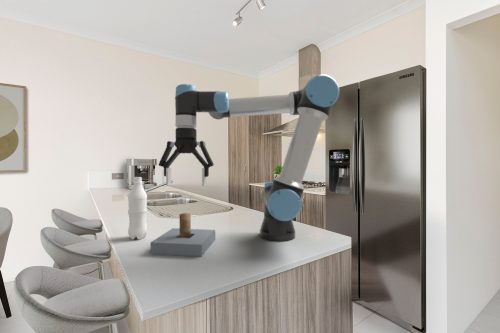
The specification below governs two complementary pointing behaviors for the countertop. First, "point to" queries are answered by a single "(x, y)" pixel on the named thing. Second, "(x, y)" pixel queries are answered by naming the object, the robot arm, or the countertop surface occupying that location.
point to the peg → (185, 225)
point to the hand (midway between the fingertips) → (186, 185)
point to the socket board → (183, 243)
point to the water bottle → (137, 210)
